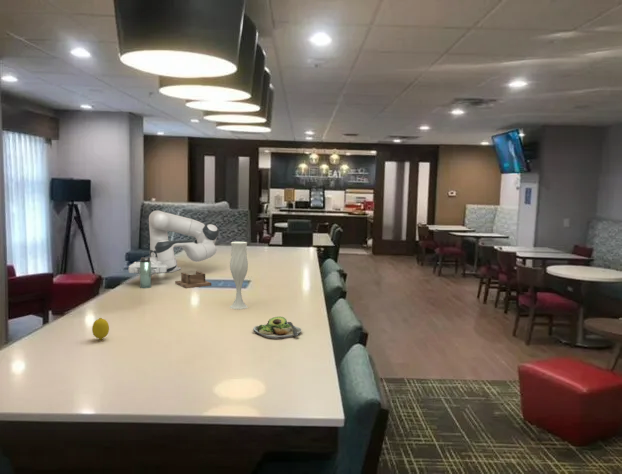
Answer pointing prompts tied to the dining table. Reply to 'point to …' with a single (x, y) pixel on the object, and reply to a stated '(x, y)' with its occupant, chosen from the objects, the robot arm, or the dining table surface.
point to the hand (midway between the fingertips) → (145, 271)
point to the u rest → (193, 280)
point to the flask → (145, 273)
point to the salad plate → (277, 329)
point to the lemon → (100, 328)
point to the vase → (238, 271)
